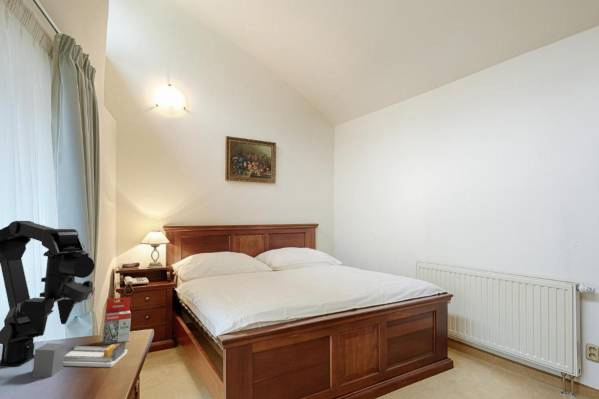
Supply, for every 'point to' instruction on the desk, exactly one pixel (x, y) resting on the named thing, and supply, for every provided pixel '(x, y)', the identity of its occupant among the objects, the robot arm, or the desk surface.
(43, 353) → the block
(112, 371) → the desk surface
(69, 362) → the rail plate
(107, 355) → the bar
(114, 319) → the ink box
